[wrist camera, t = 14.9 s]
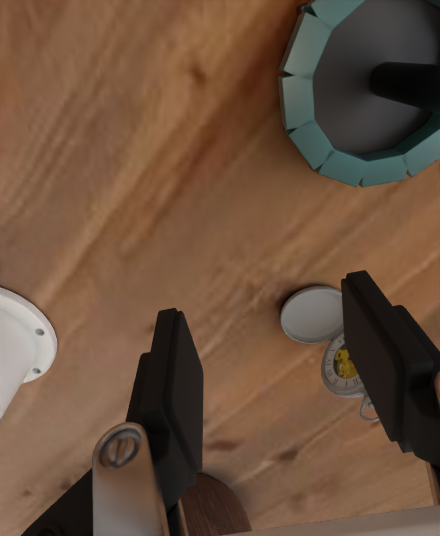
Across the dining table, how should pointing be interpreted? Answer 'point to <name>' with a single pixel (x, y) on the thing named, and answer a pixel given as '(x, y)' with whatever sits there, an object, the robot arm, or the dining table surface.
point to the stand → (378, 75)
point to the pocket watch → (325, 338)
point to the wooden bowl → (213, 509)
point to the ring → (302, 109)
